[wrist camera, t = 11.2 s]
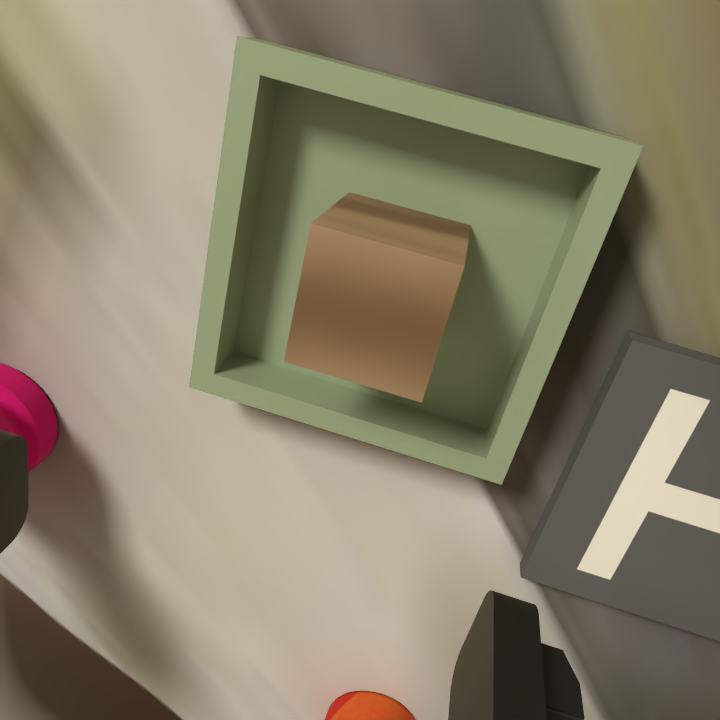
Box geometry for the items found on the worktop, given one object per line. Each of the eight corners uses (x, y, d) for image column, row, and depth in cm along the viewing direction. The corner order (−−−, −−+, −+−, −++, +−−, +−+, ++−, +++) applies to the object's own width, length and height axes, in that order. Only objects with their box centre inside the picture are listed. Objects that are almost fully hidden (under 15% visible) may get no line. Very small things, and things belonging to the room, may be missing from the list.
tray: (265, 40, 24) (237, 36, 22) (626, 137, 24) (643, 145, 21) (216, 359, 31) (189, 386, 28) (501, 447, 30) (501, 484, 27)
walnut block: (349, 192, 26) (310, 223, 20) (470, 225, 25) (464, 266, 20) (324, 305, 28) (283, 361, 22) (436, 338, 27) (421, 402, 22)
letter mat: (628, 331, 26) (632, 340, 25) (951, 425, 25) (967, 438, 25) (520, 563, 32) (520, 577, 31) (780, 646, 31) (789, 664, 30)
